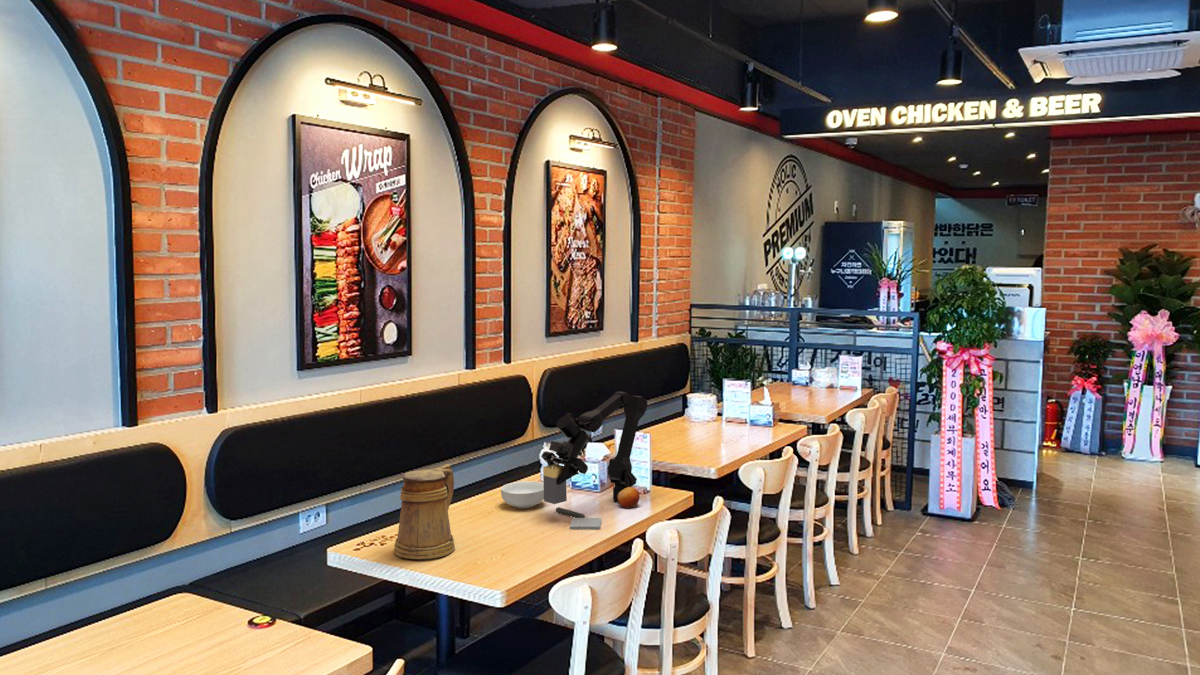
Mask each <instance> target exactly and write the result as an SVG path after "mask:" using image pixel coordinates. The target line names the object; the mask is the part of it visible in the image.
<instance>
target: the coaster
mask: <svg viewBox="0 0 1200 675" xmlns="http://www.w3.org/2000/svg"><path fill="white" fill-rule="evenodd" d="M601 525H602V517H585V518H574V517H571V520H570V525H569V530H570V529H600V530H601V527H602V526H601ZM600 526H601V527H600Z"/></svg>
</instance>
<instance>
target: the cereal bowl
mask: <svg viewBox="0 0 1200 675" xmlns="http://www.w3.org/2000/svg"><path fill="white" fill-rule="evenodd" d="M500 494H501V498H502V500H503V502H504V503H505V504H507V505H510V506H512V507H514V508H516V507H518V508H517V509H529V508H528V507H531V508H533V506H534V507H535V506H536V505H538V504H540V503H542V502H543V501H544V482H540V481H534V480H532V481H531V480H530V481H529V480H526V481H524V480H523V481H514V482H510V483H505V484H504V485H502V486H501V487H500Z"/></svg>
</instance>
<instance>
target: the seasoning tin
mask: <svg viewBox="0 0 1200 675" xmlns="http://www.w3.org/2000/svg"><path fill="white" fill-rule="evenodd" d="M542 470H543V471H542V472H543V474H542V475H543V476H542V477H543V483H544V500H543V501H544V502H546V503H550V504H553V505H558V504H560V503H564V502H567V501H568V500H567V492H568V491H567V480H566V481H564V482H563V483H561V484H560V485H558V484H557V481H558V479H559V477H560V475H561V473H562V472H563V470H564V465H563V464H559V465H557V464H553V465H549V466H548V465H546V466H542Z"/></svg>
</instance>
